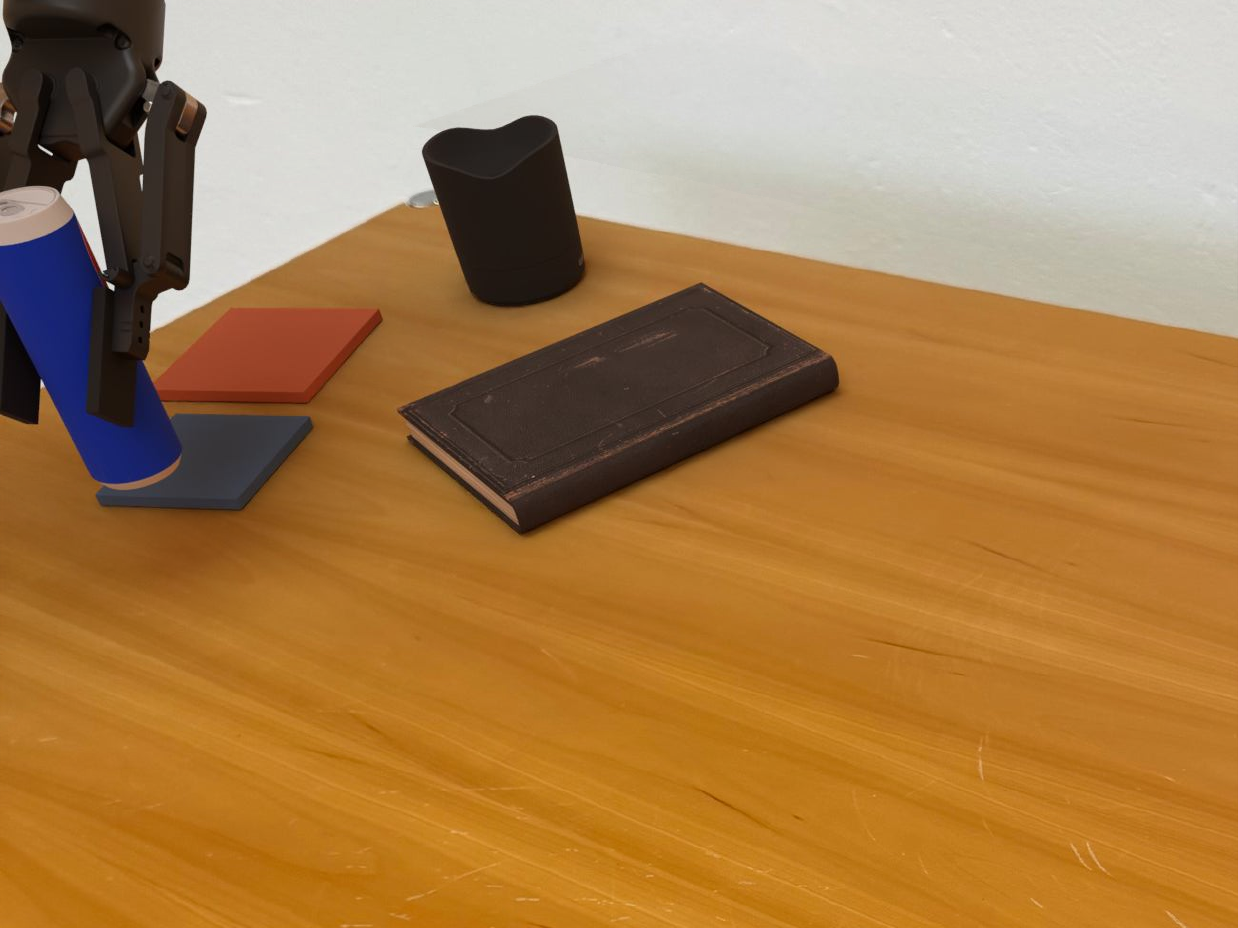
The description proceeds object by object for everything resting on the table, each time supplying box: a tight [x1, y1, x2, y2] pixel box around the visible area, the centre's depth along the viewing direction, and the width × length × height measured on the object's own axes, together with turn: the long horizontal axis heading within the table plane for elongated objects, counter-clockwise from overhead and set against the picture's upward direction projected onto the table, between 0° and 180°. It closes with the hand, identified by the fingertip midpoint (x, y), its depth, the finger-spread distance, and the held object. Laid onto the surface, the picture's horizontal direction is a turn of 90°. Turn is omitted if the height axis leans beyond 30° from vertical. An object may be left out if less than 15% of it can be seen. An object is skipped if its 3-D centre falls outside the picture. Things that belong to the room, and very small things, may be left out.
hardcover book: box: [396, 281, 840, 534], centre depth 103 cm, size 16×23×2 cm
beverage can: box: [0, 186, 182, 490], centre depth 87 cm, size 5×5×15 cm
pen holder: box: [421, 114, 586, 307], centre depth 115 cm, size 9×9×10 cm
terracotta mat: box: [153, 307, 383, 404], centre depth 114 cm, size 12×12×1 cm
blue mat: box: [94, 413, 314, 511], centre depth 104 cm, size 10×10×1 cm
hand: (61, 417), depth 86 cm, fingers closed on beverage can, 5 cm apart
